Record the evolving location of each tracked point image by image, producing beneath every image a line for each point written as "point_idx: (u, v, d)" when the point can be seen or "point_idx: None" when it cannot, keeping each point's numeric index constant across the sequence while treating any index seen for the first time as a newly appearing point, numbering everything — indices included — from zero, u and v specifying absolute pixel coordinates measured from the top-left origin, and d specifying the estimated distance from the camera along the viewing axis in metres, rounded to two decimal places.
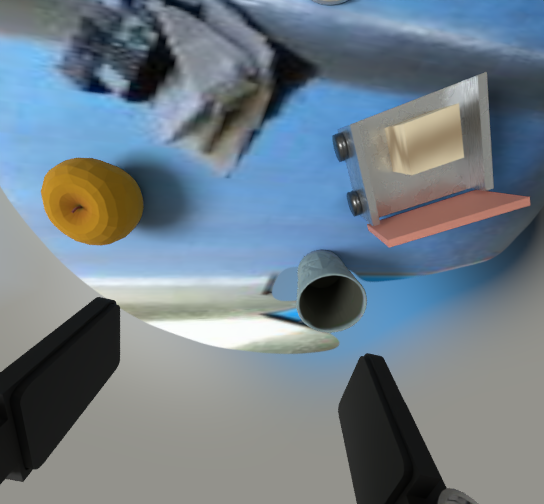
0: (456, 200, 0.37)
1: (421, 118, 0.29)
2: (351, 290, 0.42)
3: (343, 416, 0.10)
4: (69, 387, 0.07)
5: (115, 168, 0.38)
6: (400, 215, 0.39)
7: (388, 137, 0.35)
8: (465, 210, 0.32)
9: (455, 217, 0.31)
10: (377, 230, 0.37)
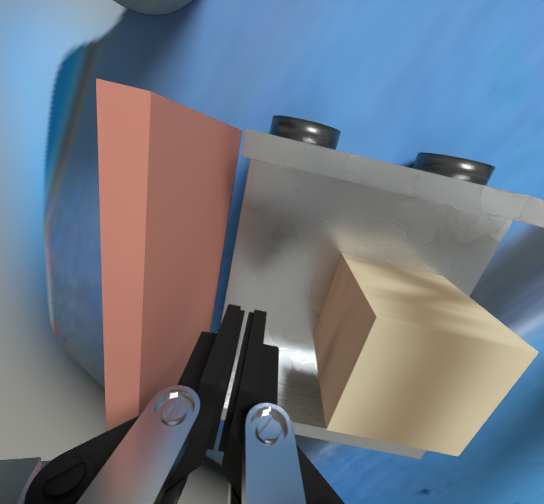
0: None
1: (504, 390, 0.10)
2: None
3: None
4: (228, 381, 0.09)
5: None
6: (223, 225, 0.14)
7: (429, 277, 0.14)
8: None
9: (149, 391, 0.08)
10: (218, 128, 0.09)
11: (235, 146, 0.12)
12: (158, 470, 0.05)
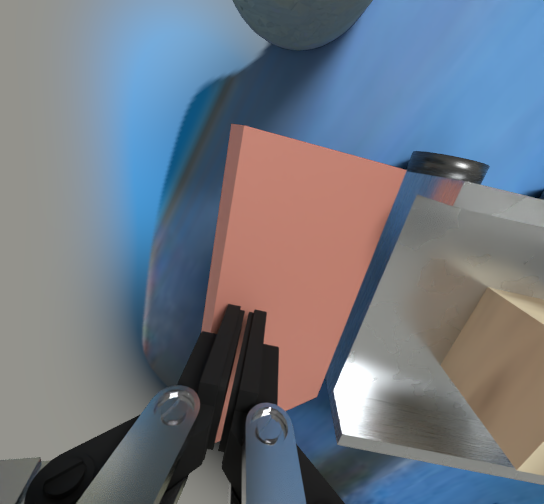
0: (309, 363, 0.16)
1: None
2: None
3: None
4: (228, 381, 0.09)
5: None
6: (362, 257, 0.14)
7: None
8: None
9: None
10: (346, 160, 0.10)
11: (388, 183, 0.12)
12: (158, 470, 0.05)
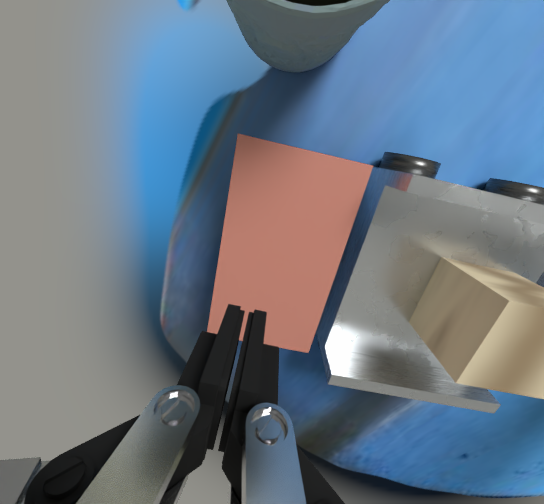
0: (296, 311, 0.21)
1: None
2: None
3: None
4: (228, 381, 0.09)
5: None
6: (338, 231, 0.19)
7: (508, 274, 0.19)
8: (240, 280, 0.20)
9: (227, 254, 0.19)
10: (308, 154, 0.17)
11: (354, 174, 0.17)
12: (158, 470, 0.05)
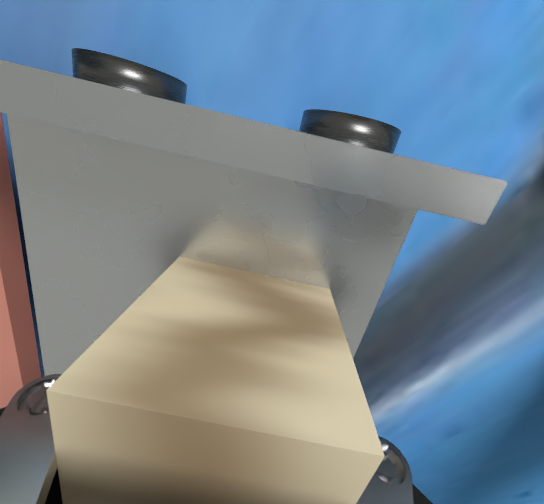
0: None
1: None
2: None
3: None
4: None
5: None
6: None
7: (301, 292, 0.09)
8: None
9: None
10: None
11: None
12: (42, 451, 0.05)
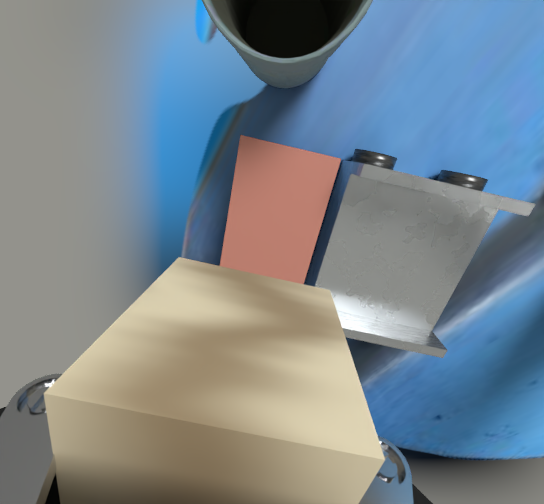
0: (285, 273, 0.27)
1: None
2: None
3: None
4: None
5: None
6: (316, 209, 0.24)
7: (301, 293, 0.09)
8: (242, 248, 0.26)
9: (232, 226, 0.25)
10: (292, 150, 0.23)
11: (327, 165, 0.23)
12: (42, 451, 0.05)
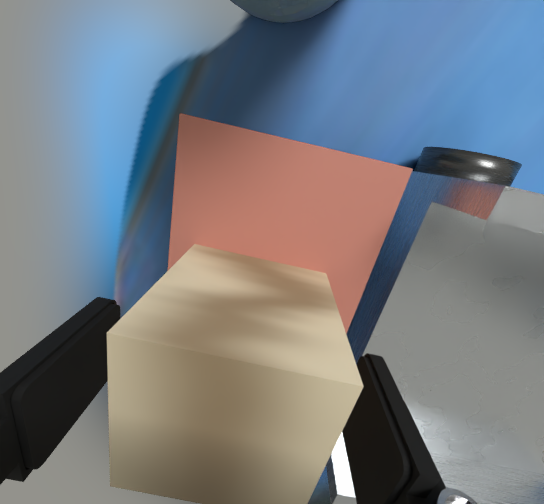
0: None
1: (332, 439, 0.07)
2: None
3: None
4: (69, 387, 0.07)
5: None
6: (350, 274, 0.12)
7: (300, 274, 0.11)
8: None
9: None
10: (301, 149, 0.10)
11: (379, 182, 0.10)
12: None
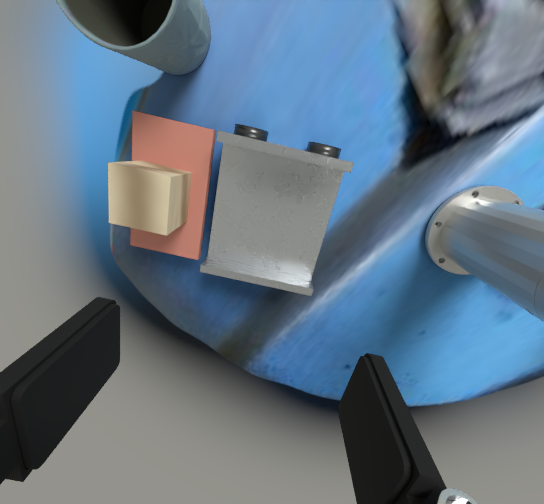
0: (184, 228, 0.33)
1: (168, 197, 0.25)
2: (125, 46, 0.24)
3: (343, 416, 0.10)
4: (69, 387, 0.07)
5: None
6: (201, 172, 0.30)
7: (179, 170, 0.29)
8: None
9: None
10: (175, 123, 0.28)
11: (203, 135, 0.29)
12: None
